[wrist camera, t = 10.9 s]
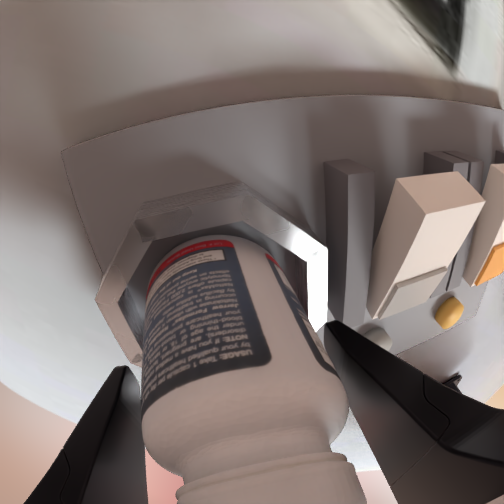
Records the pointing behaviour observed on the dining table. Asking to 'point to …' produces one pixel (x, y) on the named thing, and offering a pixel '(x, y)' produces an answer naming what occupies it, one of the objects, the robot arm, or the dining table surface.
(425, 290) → the breaker
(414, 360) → the dining table surface
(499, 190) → the block
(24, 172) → the dining table surface
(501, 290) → the dining table surface
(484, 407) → the robot arm
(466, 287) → the panel
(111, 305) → the socket
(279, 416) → the pill bottle
